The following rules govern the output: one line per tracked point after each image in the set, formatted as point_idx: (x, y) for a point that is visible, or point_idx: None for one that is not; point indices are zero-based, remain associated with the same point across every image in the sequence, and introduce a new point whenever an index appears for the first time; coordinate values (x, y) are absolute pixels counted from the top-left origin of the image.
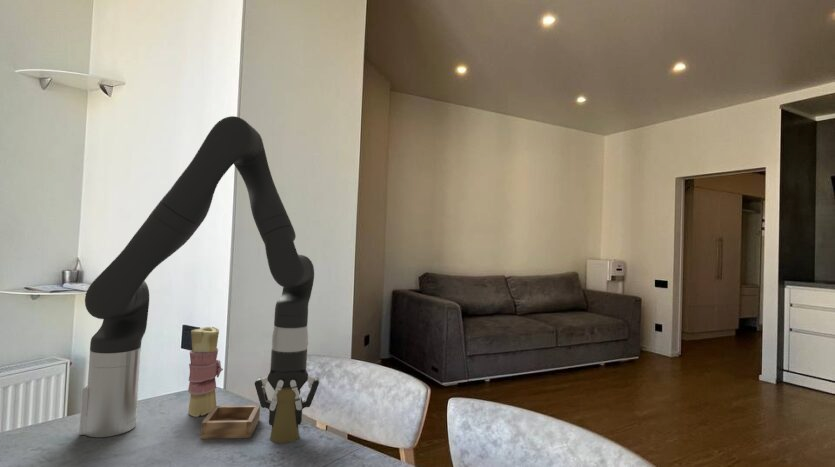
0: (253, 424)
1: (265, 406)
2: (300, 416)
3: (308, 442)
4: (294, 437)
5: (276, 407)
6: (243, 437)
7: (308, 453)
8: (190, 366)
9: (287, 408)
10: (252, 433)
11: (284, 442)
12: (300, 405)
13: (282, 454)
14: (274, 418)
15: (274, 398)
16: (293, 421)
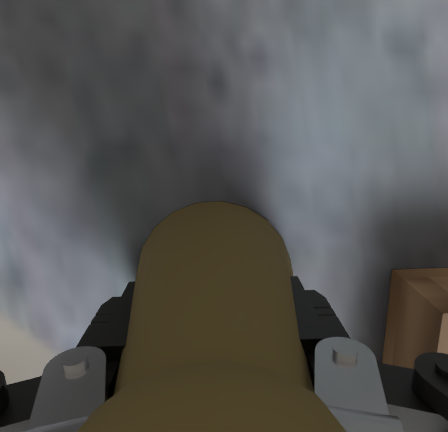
0: (407, 353)
1: (420, 362)
2: (94, 329)
3: (70, 204)
4: (151, 236)
5: (304, 366)
6: (429, 269)
7: (37, 55)
8: None
9: (185, 324)
10: (387, 315)
11: (203, 202)
12: (54, 381)
13: (188, 48)
14: (294, 304)
15: (371, 418)
16: (145, 279)
